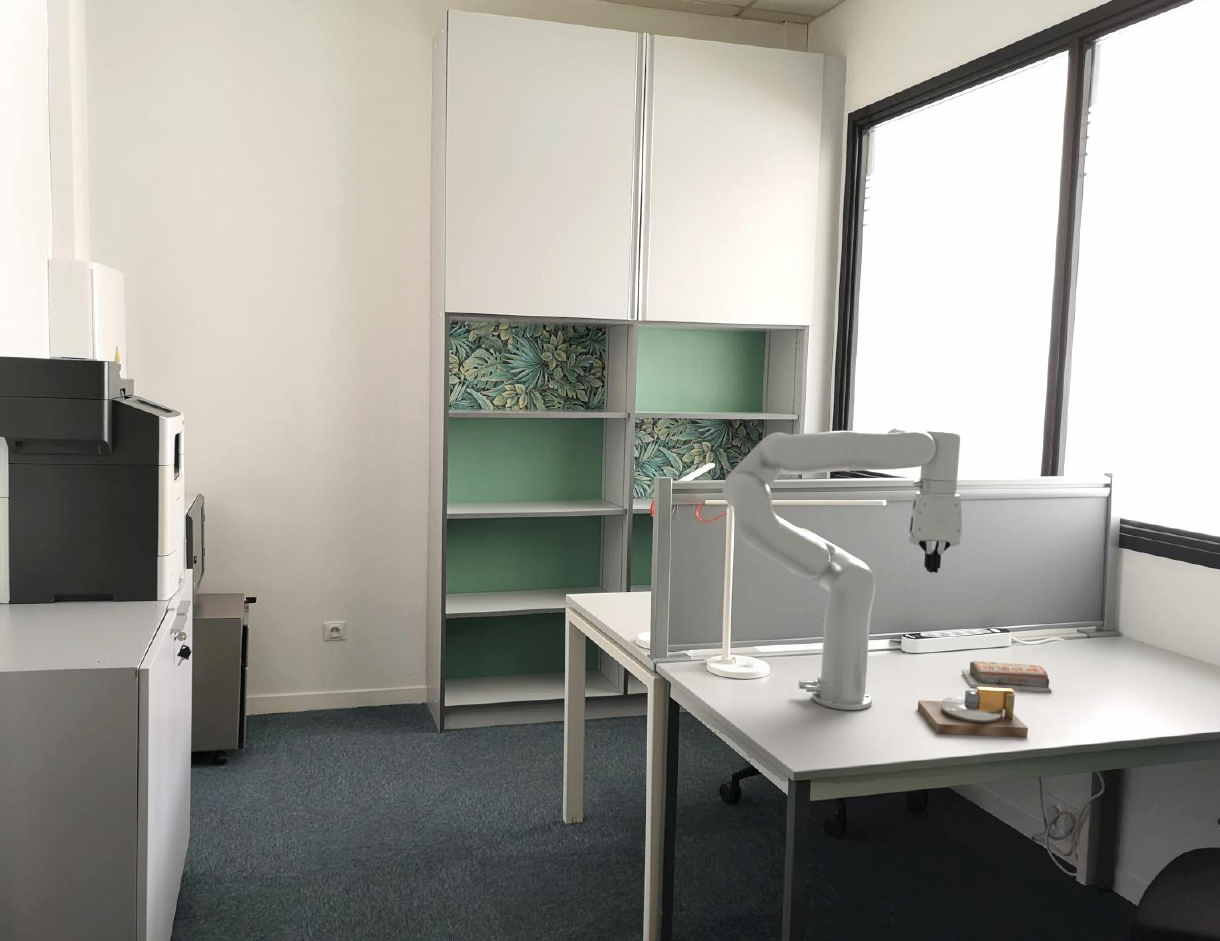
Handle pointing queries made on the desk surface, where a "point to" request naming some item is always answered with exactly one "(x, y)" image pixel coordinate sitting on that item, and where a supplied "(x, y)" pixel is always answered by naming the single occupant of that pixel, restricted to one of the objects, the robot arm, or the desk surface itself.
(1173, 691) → the desk surface
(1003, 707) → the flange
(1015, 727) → the board
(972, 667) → the packaged product
